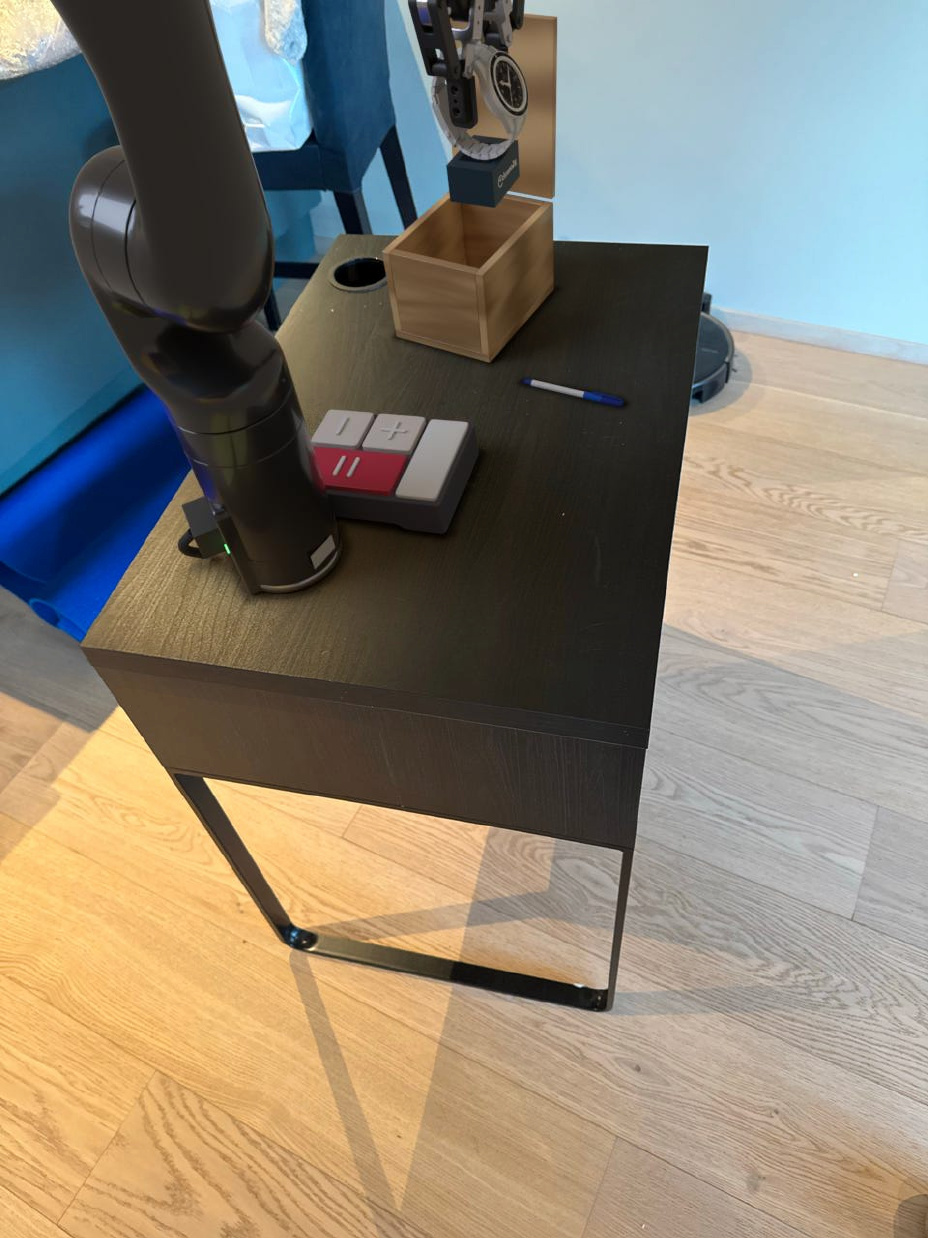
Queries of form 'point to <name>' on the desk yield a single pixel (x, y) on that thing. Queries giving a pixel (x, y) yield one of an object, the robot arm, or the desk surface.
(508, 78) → the watch
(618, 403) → the ballpoint pen
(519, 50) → the chest lid
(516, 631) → the desk surface
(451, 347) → the chest
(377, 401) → the desk surface
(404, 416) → the calculator
